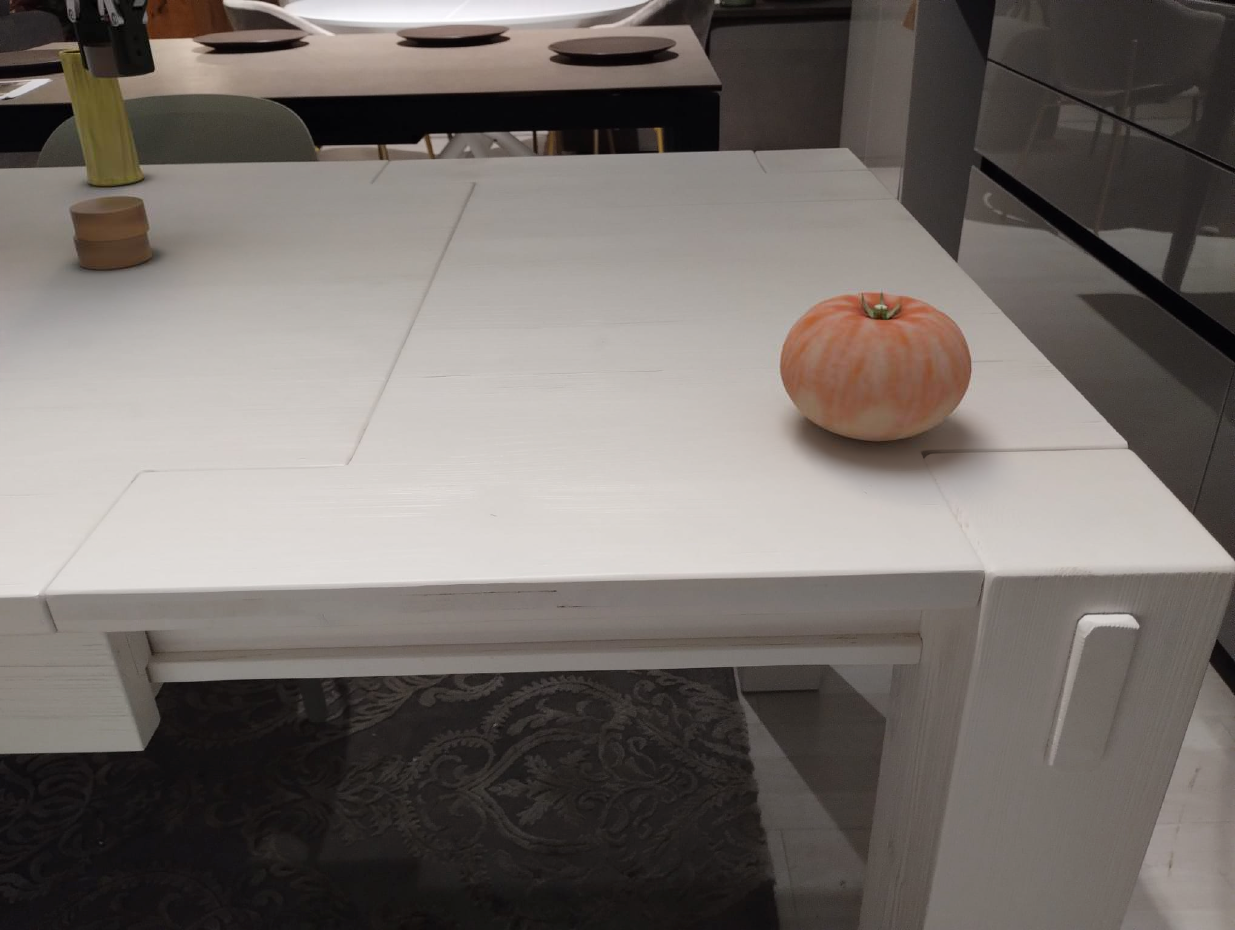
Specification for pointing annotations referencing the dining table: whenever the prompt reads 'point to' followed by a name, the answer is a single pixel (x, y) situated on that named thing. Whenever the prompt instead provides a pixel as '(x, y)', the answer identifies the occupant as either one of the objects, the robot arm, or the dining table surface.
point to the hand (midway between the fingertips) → (119, 69)
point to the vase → (101, 125)
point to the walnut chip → (102, 60)
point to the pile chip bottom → (113, 252)
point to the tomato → (875, 366)
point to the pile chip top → (109, 218)
